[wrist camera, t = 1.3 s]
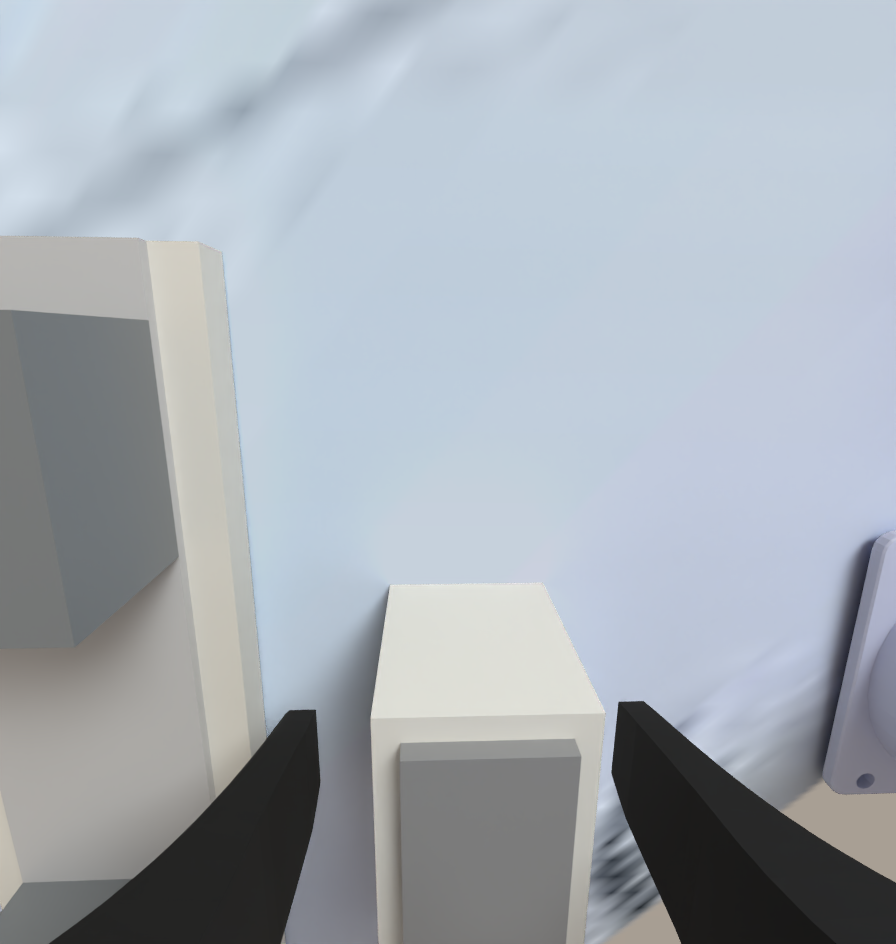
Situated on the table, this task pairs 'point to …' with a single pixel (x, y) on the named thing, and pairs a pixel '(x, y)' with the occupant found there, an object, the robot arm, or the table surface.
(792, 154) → the table surface
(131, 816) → the board
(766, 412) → the table surface
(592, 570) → the table surface
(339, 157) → the table surface
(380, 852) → the module block
